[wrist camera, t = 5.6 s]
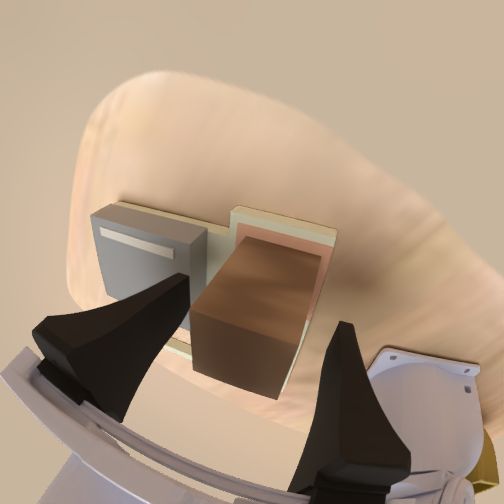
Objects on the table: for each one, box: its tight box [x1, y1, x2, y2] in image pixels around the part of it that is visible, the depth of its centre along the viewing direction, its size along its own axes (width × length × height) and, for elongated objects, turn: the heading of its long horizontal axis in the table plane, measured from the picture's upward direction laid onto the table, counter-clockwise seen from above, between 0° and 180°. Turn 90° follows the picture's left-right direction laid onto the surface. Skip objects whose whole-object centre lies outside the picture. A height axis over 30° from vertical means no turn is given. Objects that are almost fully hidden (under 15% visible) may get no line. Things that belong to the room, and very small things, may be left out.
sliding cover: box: [90, 204, 208, 331], centre depth 17 cm, size 8×6×2 cm
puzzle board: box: [114, 201, 337, 392], centre depth 19 cm, size 14×14×1 cm
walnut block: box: [189, 236, 322, 400], centre depth 13 cm, size 4×4×6 cm
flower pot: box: [465, 428, 499, 495], centre depth 15 cm, size 9×9×9 cm
